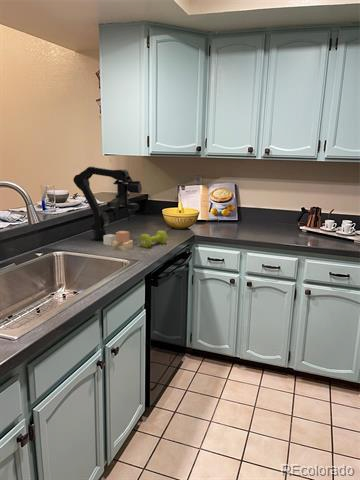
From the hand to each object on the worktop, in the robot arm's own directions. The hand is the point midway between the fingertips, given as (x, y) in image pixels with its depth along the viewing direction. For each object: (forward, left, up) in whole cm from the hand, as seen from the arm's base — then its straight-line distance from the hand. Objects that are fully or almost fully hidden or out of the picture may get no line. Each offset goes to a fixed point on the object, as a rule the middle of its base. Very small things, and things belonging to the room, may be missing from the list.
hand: (122, 220), depth 215 cm
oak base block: (+9, -12, -12) cm, 19 cm away
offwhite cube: (-2, -9, -12) cm, 15 cm away
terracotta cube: (+9, -12, -8) cm, 17 cm away
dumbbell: (+19, +3, -12) cm, 23 cm away
